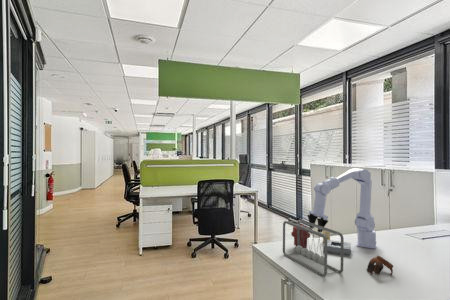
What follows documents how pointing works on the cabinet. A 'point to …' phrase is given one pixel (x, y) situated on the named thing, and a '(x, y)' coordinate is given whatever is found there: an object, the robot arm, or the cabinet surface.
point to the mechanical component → (300, 236)
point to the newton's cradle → (310, 254)
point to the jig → (338, 247)
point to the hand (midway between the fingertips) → (315, 230)
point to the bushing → (326, 236)
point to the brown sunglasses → (378, 265)
